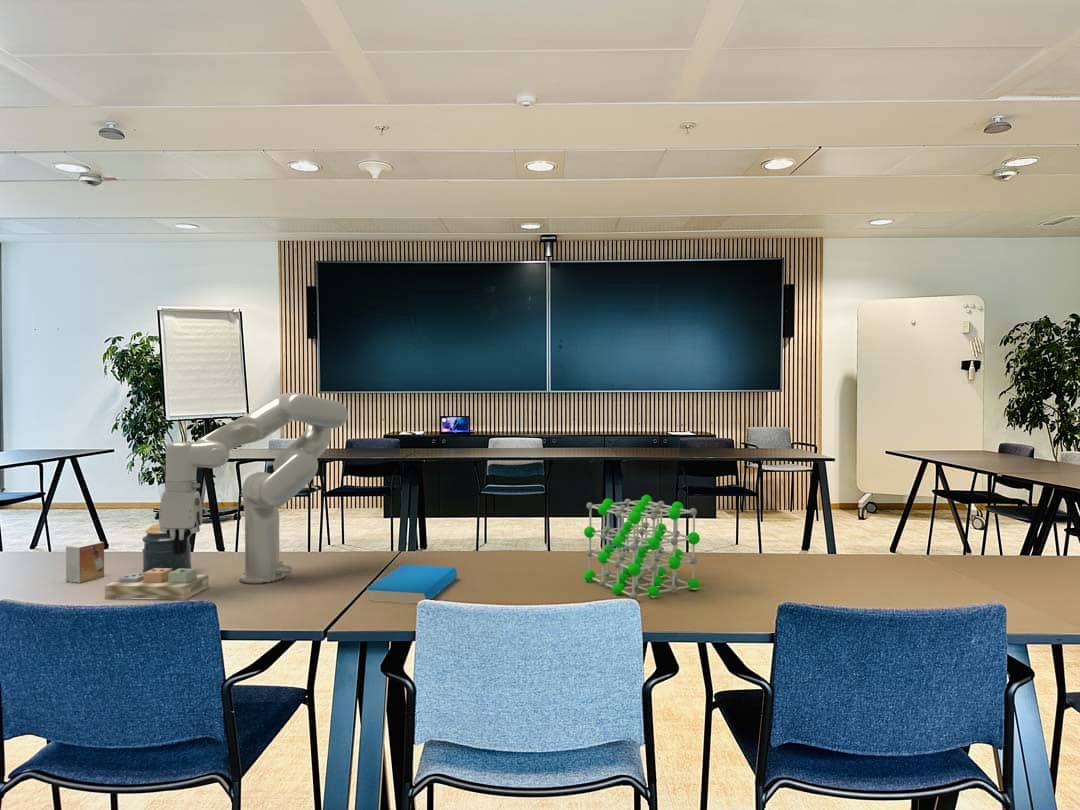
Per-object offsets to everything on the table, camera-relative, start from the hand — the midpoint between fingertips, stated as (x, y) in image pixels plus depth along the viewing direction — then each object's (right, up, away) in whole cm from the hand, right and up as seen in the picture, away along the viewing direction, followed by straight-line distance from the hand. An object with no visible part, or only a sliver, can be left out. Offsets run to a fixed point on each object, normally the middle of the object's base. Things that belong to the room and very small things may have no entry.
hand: (179, 553), depth 187 cm
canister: (-14, -11, +19) cm, 25 cm away
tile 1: (+1, -8, +1) cm, 8 cm away
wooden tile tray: (-6, -11, +1) cm, 13 cm away
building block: (-13, -10, +2) cm, 17 cm away
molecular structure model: (+128, -12, +9) cm, 129 cm away
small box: (-36, -11, +15) cm, 40 cm away
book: (+64, -12, +5) cm, 65 cm away
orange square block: (-6, -8, +1) cm, 10 cm away
